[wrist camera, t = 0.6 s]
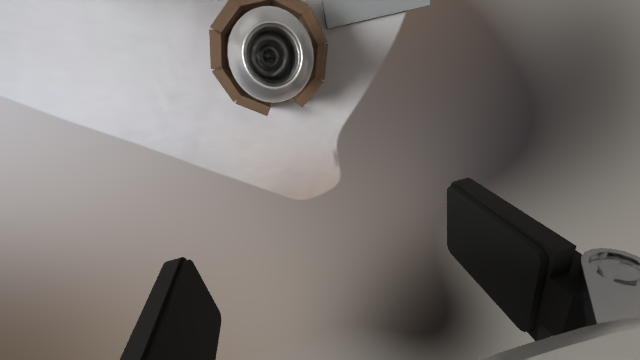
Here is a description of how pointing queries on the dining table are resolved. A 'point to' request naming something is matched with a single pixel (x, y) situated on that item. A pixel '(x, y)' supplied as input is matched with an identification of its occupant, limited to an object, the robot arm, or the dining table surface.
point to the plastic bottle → (270, 54)
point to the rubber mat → (364, 9)
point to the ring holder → (222, 27)
